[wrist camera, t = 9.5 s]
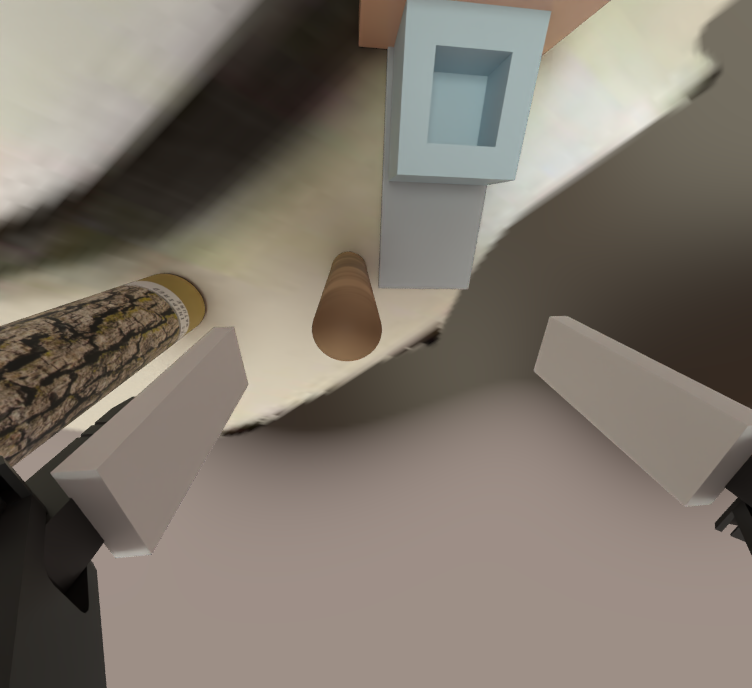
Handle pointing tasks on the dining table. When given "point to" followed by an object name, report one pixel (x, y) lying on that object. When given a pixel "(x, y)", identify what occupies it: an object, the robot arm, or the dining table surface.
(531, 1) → the wall
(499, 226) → the dining table surface
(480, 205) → the mat
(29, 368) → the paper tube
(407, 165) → the socket block
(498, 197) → the dining table surface
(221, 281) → the dining table surface
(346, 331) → the dowel
